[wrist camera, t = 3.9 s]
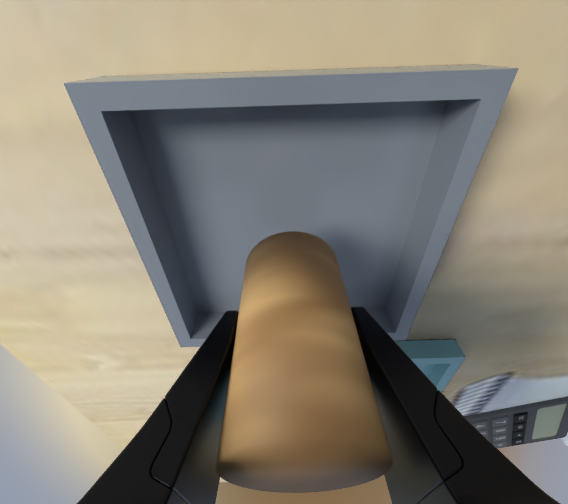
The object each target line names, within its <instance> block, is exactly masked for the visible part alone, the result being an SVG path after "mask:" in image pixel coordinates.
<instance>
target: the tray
mask: <svg viewBox="0 0 568 504" xmlns="http://www.w3.org/2000/svg"><path fill="white" fill-rule="evenodd" d="M395 342H396V343H397V344H398V345H399V347H400V348H401V349H402V350H403V351H404V352H405V353H406V354H407V355H408V356H409V358H410V359H411V360H412V361H413V362H414V363H415V364H416V365H417V366H418V368H419V369H420V370H421V371H422V372H423V373H424V374H425V375H426V376H427V377H428V379H429V380H430V381H431V382H432V383H433V384H434V385H435V386H436V387H437V390H439V391H440V392H441V393H442V391H443V390H444V388H445V387H446V385H447V384H448V382H449V381H450V379H451V378H452V377H453V375H454V374H455V372H456V371H457V369H458V368H459V366H460V365H461V363H462V362H463V360H464V359H465V358H466V357H465V355H464V353H463V352H462V350H461V348H460V347H459V345H458V344H457V342H456V340H455V339H448V340H415V341H395Z"/></svg>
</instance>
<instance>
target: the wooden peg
mask: <svg viewBox="0 0 568 504" xmlns="http://www.w3.org/2000/svg"><path fill="white" fill-rule="evenodd" d="M392 465H393V459H392V456H391V452H390V448H389V445H388V441H387V438H386V434H385V430H384V427H383V423H382V419H381V416H380V412H379V409H378V405H377V401H376V398H375V394H374V390H373V387H372V383H371V380H370V376H369V372H368V369H367V365H366V362H365V358H364V354H363V351H362V347H361V343H360V340H359V336H358V333H357V329H356V325H355V322H354V318H353V315H352V311H351V307H350V304H349V300H348V296H347V293H346V289H345V286H344V282H343V278H342V275H341V271H340V268H339V264H338V260H337V257H336V254H335V252H334V250H333V249H332V248H331V246H330V245H329V244H328V243H327V242H325V241H324V240H322V239H321V238H319V237H317V236H315V235H312V234H309V233H305V232H298V231H289V232H282V233H277V234H274V235H271V236H269V237H267V238H265V239H263V240H262V241H260V242H259V243H258V244H257V245H256V246H255V247H254V248H253V249H252V250H251V252H250V253H249V255H248V257H247V261H246V266H245V273H244V280H243V287H242V294H241V300H240V307H239V314H238V321H237V328H236V334H235V341H234V348H233V355H232V362H231V368H230V375H229V382H228V389H227V395H226V402H225V409H224V416H223V423H222V429H221V436H220V443H219V450H218V457H217V463H216V471H217V473H218V475H219V476H220V477H221V478H223V479H224V480H226V481H228V482H230V483H232V484H235V485H238V486H241V487H245V488H249V489H255V490H261V491H269V492H284V493H304V492H321V491H330V490H337V489H342V488H347V487H352V486H356V485H360V484H363V483H366V482H369V481H372V480H374V479H376V478H379V477H380V476H382V475H384V474H385V473H386V472H388V471H389V470H390V468H391V467H392Z"/></svg>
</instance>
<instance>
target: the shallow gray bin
mask: <svg viewBox="0 0 568 504" xmlns="http://www.w3.org/2000/svg"><path fill="white" fill-rule="evenodd" d="M517 71H518V68H508V67H498V66H487V65H477V64H470V65H439V66H408V67H377V68H346V69H316V70H285V71H254V72H223V73H192V74H162V75H131V76H102V77H96V78H90V79H85V80H79V81H73V82H68V83H64V85H65V87H66V90H67V92H68V94H69V96H70V99H71V101H72V103H73V105H74V108H75V110H76V112H77V115H78V117H79V119H80V121H81V124H82V126H83V128H84V130H85V133H86V135H87V137H88V139H89V142H90V144H91V146H92V148H93V151H94V153H95V155H96V157H97V160H98V162H99V164H100V166H101V169H102V171H103V173H104V175H105V178H106V180H107V182H108V184H109V187H110V189H111V191H112V193H113V196H114V198H115V200H116V202H117V205H118V207H119V209H120V211H121V214H122V216H123V218H124V220H125V223H126V225H127V227H128V229H129V232H130V234H131V236H132V238H133V241H134V243H135V245H136V247H137V250H138V252H139V254H140V257H141V259H142V261H143V263H144V266H145V268H146V270H147V272H148V275H149V277H150V279H151V281H152V284H153V286H154V288H155V290H156V293H157V295H158V297H159V299H160V302H161V304H162V306H163V308H164V311H165V313H166V315H167V317H168V320H169V322H170V324H171V326H172V329H173V331H174V333H175V335H176V338H177V340H178V342H179V344H180V347H201V345H202V344H203V343H204V341H205V340H206V339H207V337H208V336H209V334H210V333H211V332H212V330H213V329H214V327H215V326H216V325H217V323H218V322H219V320H220V319H221V318H222V316H223V315H224V313H225V312H226V311H228V310H237V311H238V312H239V307H240V300H241V294H242V287H243V280H244V273H245V266H246V261H247V257H248V255H249V253H250V252H251V250H252V249H253V248H254V247H255V246H256V245H257V244H258V243H259V242H260V241H262V240H263V239H265V238H267V237H269V236H271V235H274V234H277V233H282V232H289V231H298V232H305V233H309V234H312V235H315V236H317V237H319V238H321V239H322V240H324V241H325V242H327V243H328V244H329V245H330V246H331V248H332V249H333V250H334V252H335V254H336V257H337V260H338V264H339V268H340V271H341V275H342V278H343V282H344V286H345V289H346V293H347V296H348V300H349V304H350V307H355V306H362V307H364V308H365V309H366V310H367V311H368V312H369V313H370V315H371V316H372V317H373V318H374V319H375V320H376V321H377V322H378V323H379V325H380V326H381V327H382V328H383V329H384V330H385V331H386V332H387V333H388V334H389V336H390V337H391V338H392V339H393V340H394V341H397V340H406V338H407V336H408V334H409V331H410V329H411V326H412V324H413V322H414V319H415V317H416V314H417V312H418V309H419V307H420V305H421V302H422V300H423V297H424V295H425V293H426V290H427V288H428V285H429V283H430V281H431V278H432V276H433V273H434V271H435V268H436V266H437V264H438V261H439V259H440V256H441V254H442V252H443V249H444V247H445V244H446V242H447V240H448V237H449V235H450V232H451V230H452V227H453V225H454V223H455V220H456V218H457V215H458V213H459V211H460V208H461V206H462V203H463V201H464V199H465V196H466V194H467V191H468V189H469V186H470V184H471V182H472V179H473V177H474V174H475V172H476V170H477V167H478V165H479V162H480V160H481V158H482V155H483V153H484V150H485V148H486V145H487V143H488V141H489V138H490V136H491V133H492V131H493V129H494V126H495V124H496V121H497V119H498V117H499V114H500V112H501V109H502V107H503V104H504V102H505V100H506V97H507V95H508V92H509V90H510V88H511V85H512V83H513V80H514V78H515V76H516V73H517Z"/></svg>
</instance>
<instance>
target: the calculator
mask: <svg viewBox="0 0 568 504" xmlns="http://www.w3.org/2000/svg"><path fill="white" fill-rule="evenodd" d="M464 417H465V418H466V419H467V420H468V421H469V422H470V423H471V424H472V425H473V426H474V427H475V428H476V429H477V430H478V431H479V432H480V433H481V434H482V435H483V436H484V437H485V438H486V439H487V440H488V441H489V442H490V443H492V444H493V445H494V446H495V447H496V448H502V447H508V446H514V445H520V444H527V443H533V442H539V441H545V440H551V439H557V438H563V437H565V436H566V434H567V432H568V397H563V398H558V399H553V400H548V401H543V402H537V403H532V404H527V405H522V406H516V407H511V408H506V409H501V410H496V411H490V412H485V413H480V414H475V415H469V416H464Z"/></svg>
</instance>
